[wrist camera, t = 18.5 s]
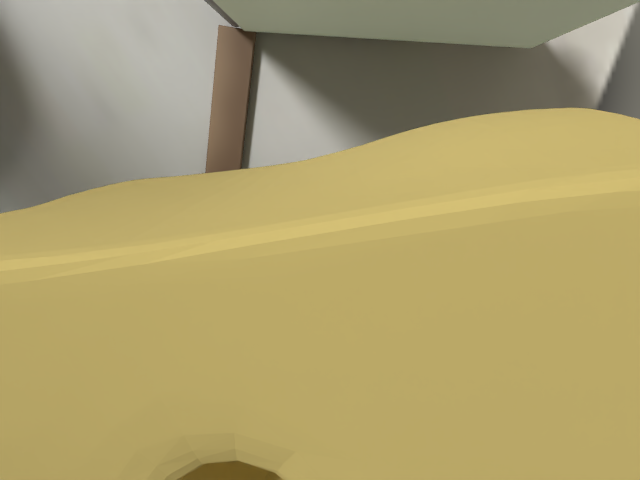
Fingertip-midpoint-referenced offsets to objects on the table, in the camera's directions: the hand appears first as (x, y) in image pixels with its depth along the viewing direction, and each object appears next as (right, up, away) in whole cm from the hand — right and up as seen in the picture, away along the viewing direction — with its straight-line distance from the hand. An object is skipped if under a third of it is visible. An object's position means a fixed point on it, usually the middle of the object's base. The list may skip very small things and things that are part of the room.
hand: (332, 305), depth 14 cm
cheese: (0, 0, +1) cm, 1 cm away
